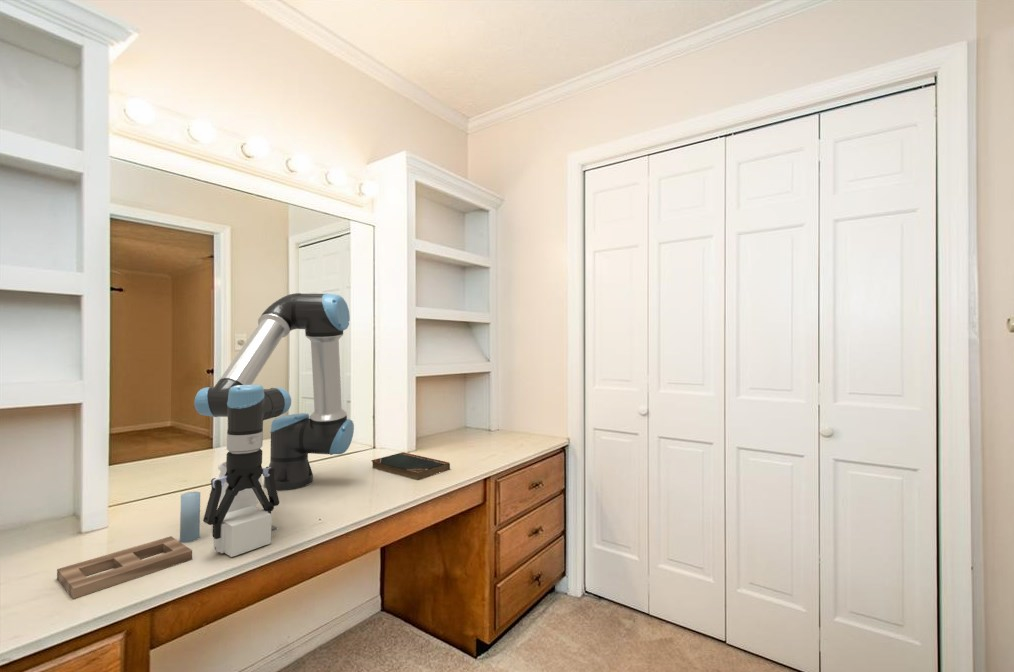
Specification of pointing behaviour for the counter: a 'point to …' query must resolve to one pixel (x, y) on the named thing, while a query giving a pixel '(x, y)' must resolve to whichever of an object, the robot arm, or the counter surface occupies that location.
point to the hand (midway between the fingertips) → (242, 543)
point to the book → (410, 465)
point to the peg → (190, 517)
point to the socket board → (122, 566)
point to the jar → (243, 497)
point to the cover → (246, 530)
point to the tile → (273, 528)
